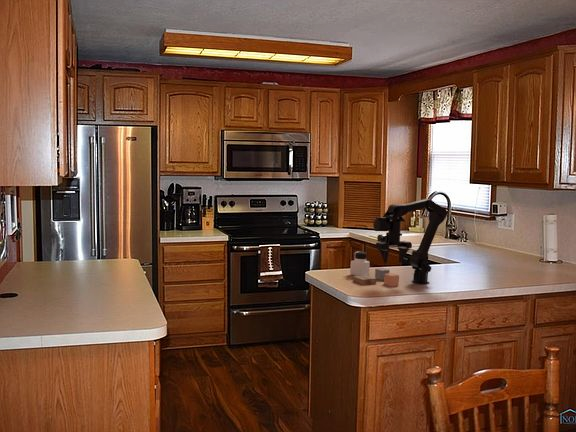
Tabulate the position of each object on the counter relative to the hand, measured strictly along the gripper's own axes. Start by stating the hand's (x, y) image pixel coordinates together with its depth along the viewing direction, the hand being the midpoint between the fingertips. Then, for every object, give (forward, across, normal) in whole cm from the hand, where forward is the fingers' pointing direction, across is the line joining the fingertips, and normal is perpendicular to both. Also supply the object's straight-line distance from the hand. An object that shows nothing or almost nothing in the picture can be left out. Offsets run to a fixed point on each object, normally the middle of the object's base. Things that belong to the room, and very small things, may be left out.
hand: (392, 263), depth 293 cm
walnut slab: (+11, +10, -8) cm, 17 cm away
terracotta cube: (+11, 0, 0) cm, 11 cm away
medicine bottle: (+11, +1, -24) cm, 26 cm away
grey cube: (+11, -4, -12) cm, 17 cm away
